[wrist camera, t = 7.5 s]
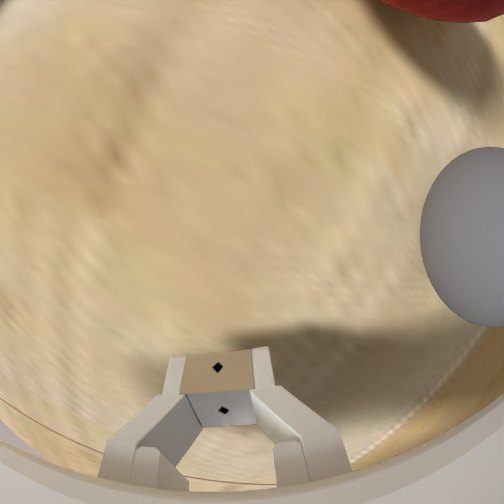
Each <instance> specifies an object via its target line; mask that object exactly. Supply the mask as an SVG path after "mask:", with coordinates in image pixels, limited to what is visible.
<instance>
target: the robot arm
mask: <svg viewBox="0 0 504 504" xmlns="http://www.w3.org/2000/svg"><path fill="white" fill-rule="evenodd" d="M248 424H257V425H258V426H259V427H260V429H261V430H262V431H263V432H264V433H265V434H266V435H267V436H268V437H269V438H270V440H271V441H272V442H273V443H274V444H275V446H274V448H273V454H274V462H275V470H276V479H277V488H269V489H260V490H248V491H228V492H199V491H189V481H188V480H187V479H186V478H185V477H184V476H183V475H182V474H181V473H180V472H179V471H178V470H177V469H176V468H175V467H176V465H177V464H178V463H179V461H180V460H181V459H182V457H183V456H184V455H185V453H186V452H187V450H188V449H189V448H190V446H191V445H192V443H193V442H194V441H195V439H196V438H197V436H198V435H199V434H200V432H201V431H202V428H205V427H220V426H233V425H248ZM0 504H504V393H503V394H502V395H501V396H499V397H498V398H497V399H496V400H494V401H493V402H492V403H490V404H489V405H487V406H486V407H485V408H483V409H482V410H480V411H479V412H477V413H476V414H474V415H473V416H471V417H470V418H468V419H467V420H465V421H463V422H462V423H460V424H459V425H457V426H455V427H453V428H452V429H450V430H448V431H447V432H445V433H443V434H441V435H439V436H437V437H435V438H434V439H432V440H430V441H428V442H426V443H424V444H422V445H419V446H417V447H415V448H413V449H411V450H409V451H406V452H404V453H402V454H399V455H397V456H395V457H392V458H390V459H387V460H384V461H382V462H379V463H376V464H373V465H371V466H368V467H365V468H362V469H358V470H355V471H352V469H351V466H350V463H349V460H348V457H347V454H346V450H345V447H344V444H343V441H342V438H341V435H340V432H339V430H338V429H337V428H335V427H334V426H333V425H331V424H330V423H329V422H327V421H326V420H325V419H323V418H322V417H321V416H319V415H318V414H317V413H315V412H314V411H313V410H311V409H310V408H309V407H307V406H306V405H305V404H304V403H302V402H301V401H300V400H298V399H297V398H296V397H295V396H293V395H292V394H291V393H290V392H289V391H287V390H286V389H285V388H284V387H282V386H281V385H280V386H276V384H275V378H274V373H273V367H272V362H271V356H270V351H269V347H268V346H265V347H258V348H252V350H251V349H245V350H237V351H229V352H220V353H207V354H188V355H173V356H172V357H171V358H170V361H169V366H168V370H167V374H166V379H165V383H164V388H163V393H162V395H157V396H156V397H155V398H153V399H152V400H151V401H150V402H149V403H148V404H147V405H146V406H145V407H144V408H143V409H142V410H141V411H140V412H138V413H137V414H136V415H135V416H134V417H133V418H132V419H131V420H130V421H129V422H128V423H126V424H125V425H124V426H123V427H122V428H121V429H120V430H119V431H118V432H116V433H115V434H114V435H113V436H112V437H111V438H110V439H109V440H108V441H107V445H106V448H105V452H104V455H103V459H102V463H101V467H100V471H99V475H98V477H96V476H92V475H88V474H85V473H81V472H78V471H75V470H72V469H69V468H66V467H63V466H60V465H58V464H55V463H52V462H50V461H47V460H45V459H42V458H40V457H37V456H35V455H33V454H31V453H28V452H26V451H24V450H22V449H20V448H18V447H16V446H14V445H12V444H10V443H8V442H6V441H4V440H3V439H1V438H0Z"/></svg>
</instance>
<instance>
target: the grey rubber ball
mask: <svg viewBox="0 0 504 504" xmlns="http://www.w3.org/2000/svg"><path fill="white" fill-rule="evenodd" d="M420 242H421V251H422V257H423V262H424V265H425V268H426V272H427V274H428V277H429V279H430V282H431V284H432V286H433V287H434V289H435V291H436V292H437V294H438V295H439V297H440V298H441V299H442V301H443V302H444V303H445V304H446V305H447V306H448V307H449V308H450V309H451V310H452V311H453V312H454V313H456V314H457V315H458V316H460V317H461V318H463V319H465V320H467V321H469V322H471V323H474V324H477V325H480V326H486V327H503V326H504V149H503V148H498V147H483V148H477V149H473V150H470V151H468V152H465V153H463V154H461V155H459V156H458V157H457V158H455V159H454V160H452V161H451V162H450V163H449V164H448V165H447V166H446V167H445V168H444V169H443V170H442V171H441V173H440V174H439V175H438V176H437V178H436V180H435V181H434V183H433V185H432V187H431V189H430V191H429V193H428V195H427V198H426V201H425V204H424V208H423V213H422V218H421V228H420Z"/></svg>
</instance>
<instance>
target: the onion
mask: <svg viewBox="0 0 504 504" xmlns="http://www.w3.org/2000/svg"><path fill="white" fill-rule="evenodd" d="M381 1H383V2H385V3H387V4H389V5H391V6H393V7H396V8H399V9H401V10H404V11H406V12H409V13H411V14H414V15H416V16H418V17H424V18H429V19H434V20H439V21H446V22H458V23H469V22H486V21H488V20H490V19H493V18H495V17H497V16H500V15H502V14H504V0H381Z"/></svg>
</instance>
